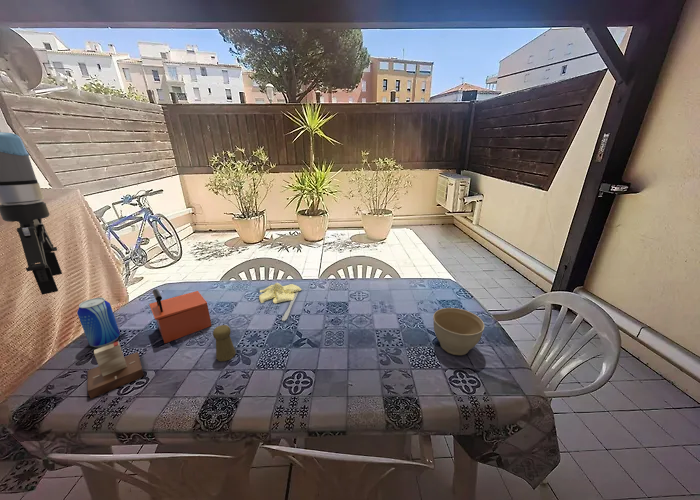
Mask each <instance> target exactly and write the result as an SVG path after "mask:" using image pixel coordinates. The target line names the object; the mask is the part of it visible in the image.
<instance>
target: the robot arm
mask: <svg viewBox="0 0 700 500" xmlns="http://www.w3.org/2000/svg"><path fill="white" fill-rule="evenodd" d="M44 199H45V196H44V194H43V191H42V188H41V186H40V183H39V182H38V179H37V176H36V174H35V170H34V168H33V165H32V162H31V159H30V153H28V150H27V148H26V146H25V144H24V142H23V139H22V137H20V136H19V135H18V134H16V133H13V132H4V131H0V216H1V219H2V220H3V221H4V222H8V223H9V222H10V223H12V222H18V223H19V227H16V232H17V233H18V234H17V235H18V236H19V239H20V242H21V246H22V249H23V253H24V257H25V260H26V264H27V267H25V270H26V272H31V271H32V274H33V276H34V279H35V281H36V284H37V286H38V288H39V291H40V293H41V295H42V296H44V295H48V294H52V293H57V292H59V289H58V286H57V284H56V280H55V278H54V276H55V277H56V276H59V275H62V274H63V272H62V270H61V267H60V264H59V261H58V257H57V255H56V253H55V252H58V247H57V246H54V244H53V242H52V240H51V238H50V236H49V234H48V232H47V230H46V226H45V224H44V223H43V221H42V220H43V219H46V218H48V217H49V216H51V215H50V212H49V209H48V206H47V203H46V202H44V201H43V200H44Z"/></svg>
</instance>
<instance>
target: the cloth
mask: <svg viewBox="0 0 700 500" xmlns="http://www.w3.org/2000/svg"><path fill="white" fill-rule="evenodd" d="M302 290H303V289H302V288H301V287H300V286H298V285H297V284H295V283H290V284H287V285H282V284H281V283H279V282H275V283H274V284H271V285H269V286H267V287H266V288H264V289H261V290H259V293H261V294H259V295H258V299H259V302H260V304H263V303H265V302H266V301H269V300H272V302H273V304H278V303H285V302H289V301H290V302H291V300H293V299H294V296H295V294H294V293H295V292H297V291H299V292H300V291H302Z"/></svg>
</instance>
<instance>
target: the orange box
mask: <svg viewBox="0 0 700 500" xmlns="http://www.w3.org/2000/svg"><path fill="white" fill-rule="evenodd" d="M209 310H210V309H209V305H208V304H207V305H204V306H200V307H197V308H194V309H190V310H187V311H184V312H181V313H177V314H174V315H171V316H167V317H164V318H161V319H158V320H155V321H156V324H157V327H158V330H159V333H160V336H161V338H162V341H163V343H164V344H167V343H170V342H172V341H175V340H177V339H181V338H183V337H186V336H188V335H191V334H195V333H197V332H199V331H201V330H205V329H207V328H210V327H212V321H211V315H210V311H209Z"/></svg>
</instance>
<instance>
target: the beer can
mask: <svg viewBox="0 0 700 500" xmlns="http://www.w3.org/2000/svg"><path fill="white" fill-rule="evenodd" d="M76 314H77V316H78V319H79V322H80V325H81V327H82V330H83V332H84V335H85V337H86V340H87V342H88V343H87V344H88V345H89V346H90V347H93V348H101V347H104V346H107V345H110V344H113V343H114V342H117V341H118V340H119V337H120V335H121V331H120V329H119V327H118V322H117V320H116V317H115V314H114V311H113V308H112V305H111V303H110V302H109V301H107V300H106V298H105V297H93V298H90V299H86V300H84V301H82V302H81V303H79V304H78V309H77V311H76Z"/></svg>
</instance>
